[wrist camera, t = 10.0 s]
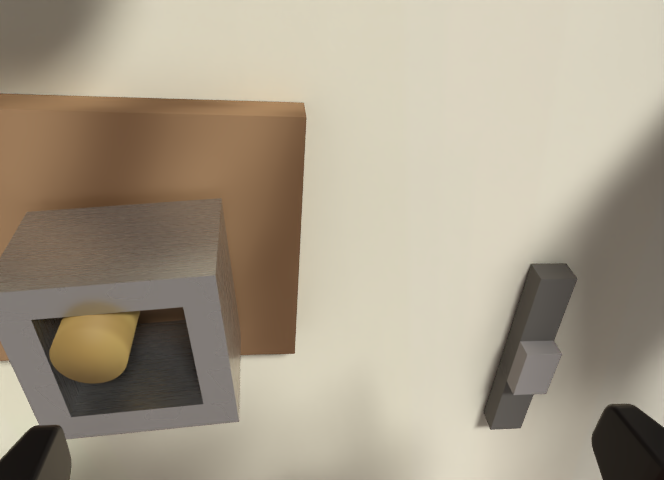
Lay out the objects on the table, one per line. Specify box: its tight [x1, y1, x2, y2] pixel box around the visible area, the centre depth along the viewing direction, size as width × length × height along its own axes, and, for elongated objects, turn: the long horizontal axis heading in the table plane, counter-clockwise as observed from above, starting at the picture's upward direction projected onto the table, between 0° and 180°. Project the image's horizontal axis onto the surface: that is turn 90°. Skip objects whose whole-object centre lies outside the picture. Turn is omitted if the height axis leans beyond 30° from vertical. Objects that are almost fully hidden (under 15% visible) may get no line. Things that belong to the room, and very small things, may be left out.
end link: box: [0, 198, 241, 439], centre depth 19 cm, size 6×6×4 cm
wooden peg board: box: [0, 94, 306, 384], centre depth 19 cm, size 12×10×6 cm
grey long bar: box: [484, 264, 577, 430], centre depth 26 cm, size 2×9×2 cm, turn 176°
